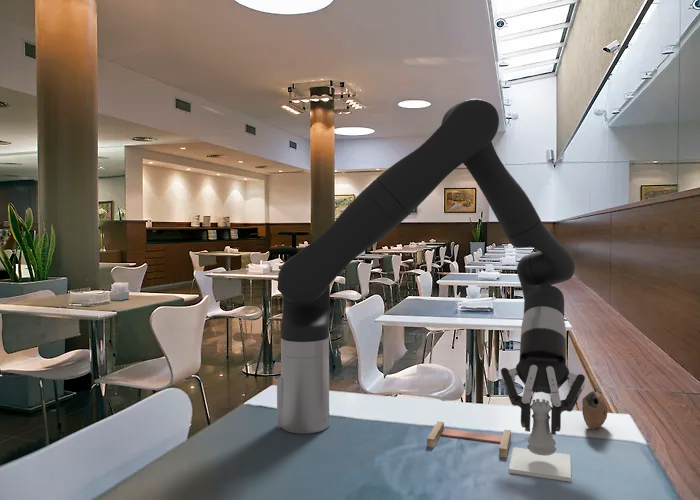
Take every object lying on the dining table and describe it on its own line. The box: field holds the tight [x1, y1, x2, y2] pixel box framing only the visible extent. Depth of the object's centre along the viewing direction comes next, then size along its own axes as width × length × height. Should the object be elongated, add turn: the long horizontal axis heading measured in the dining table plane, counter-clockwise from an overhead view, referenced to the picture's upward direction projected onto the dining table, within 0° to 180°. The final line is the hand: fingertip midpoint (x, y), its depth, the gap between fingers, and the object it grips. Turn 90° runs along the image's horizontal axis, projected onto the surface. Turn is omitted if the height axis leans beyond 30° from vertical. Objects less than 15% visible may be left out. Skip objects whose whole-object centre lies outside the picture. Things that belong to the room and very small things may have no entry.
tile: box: [508, 446, 572, 483], centre depth 88 cm, size 9×9×1 cm
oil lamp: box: [581, 390, 608, 430], centre depth 103 cm, size 9×4×8 cm, turn 147°
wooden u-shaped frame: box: [426, 421, 512, 459], centre depth 97 cm, size 13×9×2 cm
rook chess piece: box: [526, 398, 557, 456], centre depth 88 cm, size 4×4×8 cm
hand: (540, 430), depth 86 cm, fingers closed on rook chess piece, 3 cm apart
